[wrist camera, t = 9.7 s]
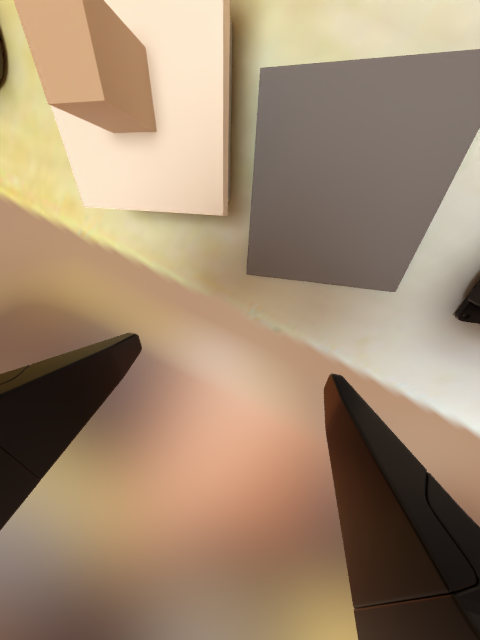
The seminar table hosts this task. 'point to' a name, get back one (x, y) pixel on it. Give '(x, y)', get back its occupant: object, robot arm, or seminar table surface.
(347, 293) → the seminar table surface
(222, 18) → the lid
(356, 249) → the mat
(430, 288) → the seminar table surface
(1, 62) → the supplement bottle
